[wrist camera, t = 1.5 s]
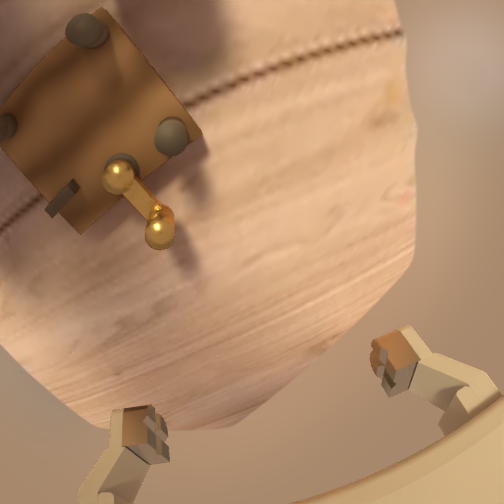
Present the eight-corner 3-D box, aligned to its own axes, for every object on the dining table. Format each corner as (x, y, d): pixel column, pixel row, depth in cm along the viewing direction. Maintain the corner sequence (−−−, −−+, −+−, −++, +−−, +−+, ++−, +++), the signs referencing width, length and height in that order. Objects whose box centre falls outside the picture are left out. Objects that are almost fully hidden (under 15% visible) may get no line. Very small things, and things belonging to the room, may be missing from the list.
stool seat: (-3, 122, 22) (-38, 138, 17) (107, 11, 20) (89, -5, 15) (85, 223, 31) (69, 258, 25) (200, 129, 29) (206, 144, 23)
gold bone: (100, 171, 26) (90, 186, 23) (122, 151, 26) (114, 163, 22) (158, 234, 31) (157, 255, 28) (180, 217, 31) (181, 238, 27)
